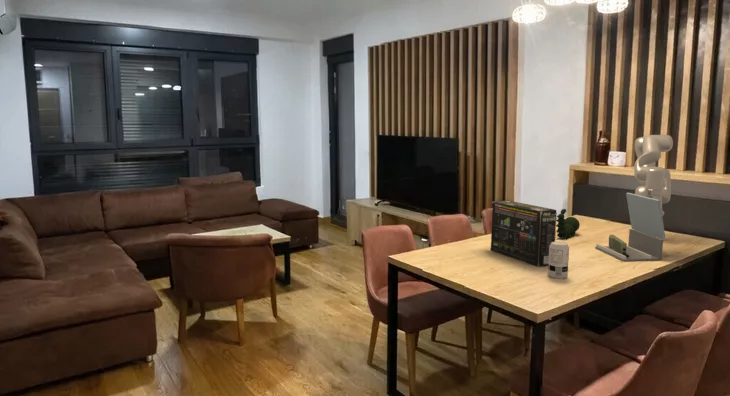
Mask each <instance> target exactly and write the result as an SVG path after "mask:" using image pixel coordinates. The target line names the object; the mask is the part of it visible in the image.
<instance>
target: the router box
mask: <svg viewBox="0 0 730 396" xmlns="http://www.w3.org/2000/svg"><path fill="white" fill-rule="evenodd" d="M491 204H492V215H491V216H492V217H491V232H490V233H491V236H490V237H491V238H490V239H491V241H490V251H492V252H494V253H497V254H500V255H503V256H506V257H509V258H512V259H516V260H518V261H521V262H524V263H527V264H530V265H533V266H535V267H542V266H548V262H549V246H550V244H551V242H556V237H557V232H556V231H557V230H556V228H557V227H556V225H557V221H556V220H558V217H557V216H558V215H557V214H558V212H557V209H553V208H548V207H542V206H538V205H533V204H528V203H524V202H523V203H522V202H518V201H517V202H516V201H512V200H502V201H501V200H499V201H498V200H497V201H492V202H491Z"/></svg>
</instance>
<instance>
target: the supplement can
mask: <svg viewBox="0 0 730 396" xmlns="http://www.w3.org/2000/svg"><path fill="white" fill-rule="evenodd" d="M569 257H570V246H569V243H567V242H564V241H555V242H551V244H550V246H549V262H548V265H547V266H548V267H547V276H548V277H551V278H552V279H560V280H561V279H562V280H563V279H566V278H568V275H569V274H568V273H569V260H570V258H569Z"/></svg>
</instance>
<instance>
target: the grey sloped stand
mask: <svg viewBox="0 0 730 396" xmlns="http://www.w3.org/2000/svg"><path fill="white" fill-rule="evenodd" d="M663 245H664V240H663V239H660V238H657V237H653V236H650V235H647V234H644V233H642V232H639V231H636V230H634V229H632V228H629V232H628V245H627V251H626V254H628V255H629V257H626V256H624V255H622V254H620V253H618V252H616V251H615V250H613V249H612V248H611V247H609V245H608V246H607V245H606V246H604V245H601V244H600V243H596V246H595V247H594V249H595V250H598V251H600V252H602V253H604V254H606V255H608V256H611V257H613V258H615V259H617V260H618V261H621V262H623V263H624V262H655V261H656V262H657V261H663V260H662V257H663V250H664V249H663V247H664V246H663Z"/></svg>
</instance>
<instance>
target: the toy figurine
mask: <svg viewBox="0 0 730 396" xmlns="http://www.w3.org/2000/svg"><path fill="white" fill-rule="evenodd" d="M566 213H567V209H566V208H562V209H561V210H560V213H559V214H558V215H557V219H556V227H555V228H557V229H556V230H555V231H556V237H558V238H562V237H563V238H564V239H565V238H567V239H570V238H572V237H574V236H575V235H576V232H577V231H578V230H579V229H580V225H581V224H580V222H579V220H578V219H577V218H576V217H574V216H569V217H568V216H567V217H566V218H565V214H566Z"/></svg>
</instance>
